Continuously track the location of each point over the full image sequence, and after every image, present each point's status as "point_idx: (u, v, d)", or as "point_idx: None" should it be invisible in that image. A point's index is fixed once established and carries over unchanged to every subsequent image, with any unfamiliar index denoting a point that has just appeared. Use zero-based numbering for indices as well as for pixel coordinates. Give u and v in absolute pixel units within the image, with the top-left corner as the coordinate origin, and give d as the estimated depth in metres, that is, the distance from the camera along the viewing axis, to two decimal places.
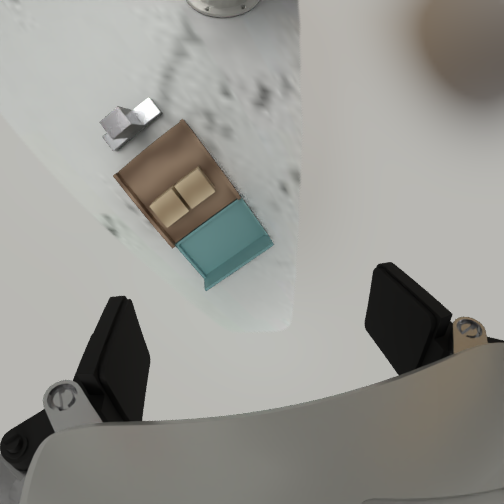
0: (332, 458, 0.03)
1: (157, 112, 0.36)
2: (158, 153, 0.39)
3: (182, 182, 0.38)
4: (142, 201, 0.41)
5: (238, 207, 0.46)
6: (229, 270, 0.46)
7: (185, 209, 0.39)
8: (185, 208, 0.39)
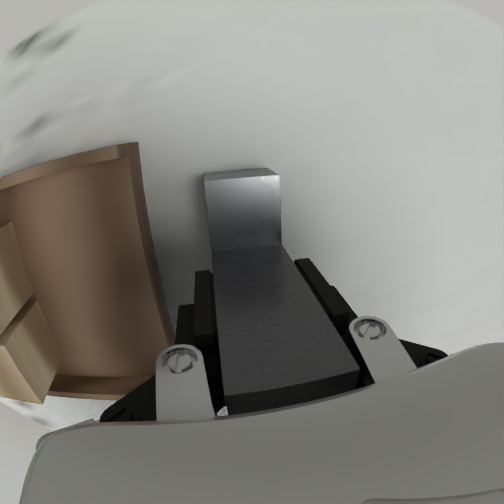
0: (332, 458, 0.03)
1: None
2: (119, 300, 0.13)
3: (13, 365, 0.09)
4: (18, 186, 0.10)
5: None
6: None
7: None
8: None
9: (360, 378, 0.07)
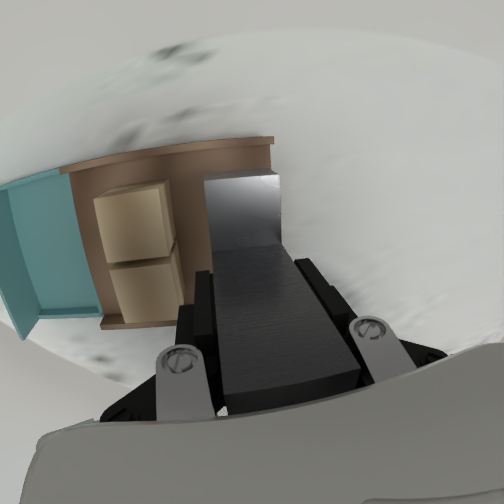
0: (332, 458, 0.03)
1: None
2: None
3: (169, 282, 0.17)
4: (180, 153, 0.18)
5: (90, 298, 0.23)
6: None
7: (113, 258, 0.16)
8: (115, 259, 0.16)
9: (360, 378, 0.07)
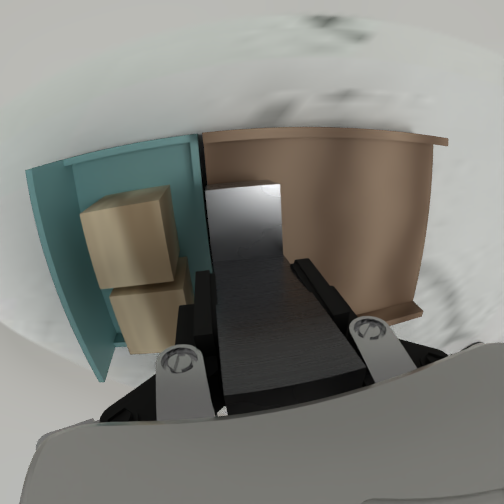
0: (332, 458, 0.03)
1: None
2: (406, 239, 0.18)
3: None
4: (358, 140, 0.15)
5: None
6: (59, 262, 0.12)
7: None
8: None
9: None
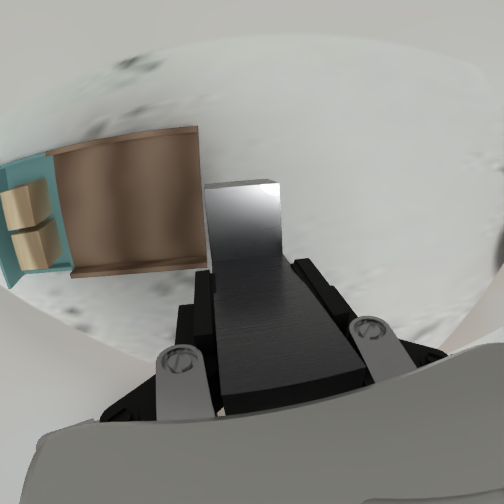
0: (332, 458, 0.03)
1: None
2: (182, 204, 0.26)
3: None
4: (131, 140, 0.23)
5: (65, 256, 0.27)
6: None
7: None
8: None
9: None
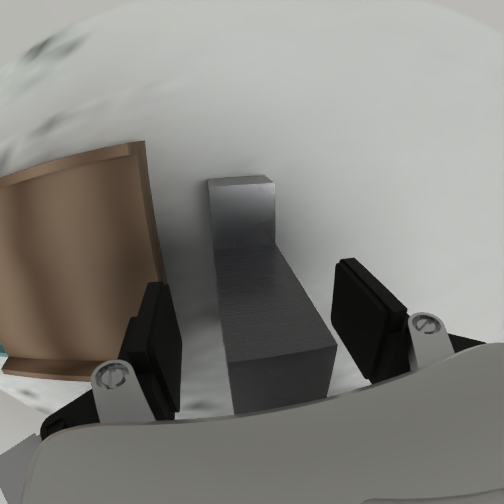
0: (332, 458, 0.03)
1: None
2: (126, 285, 0.14)
3: None
4: (33, 179, 0.11)
5: None
6: None
7: None
8: None
9: (409, 371, 0.07)
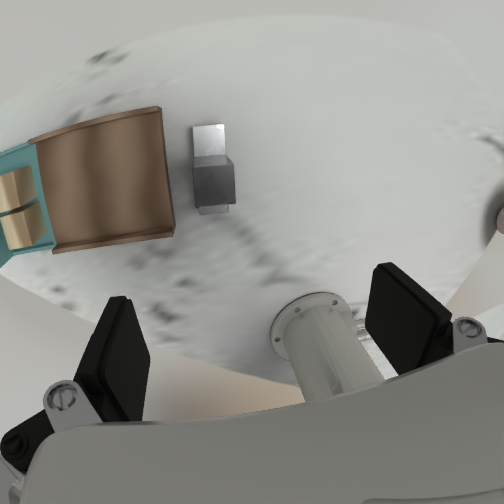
0: (332, 458, 0.03)
1: (201, 212, 0.29)
2: (148, 179, 0.27)
3: None
4: (101, 124, 0.24)
5: (49, 236, 0.29)
6: None
7: None
8: None
9: None
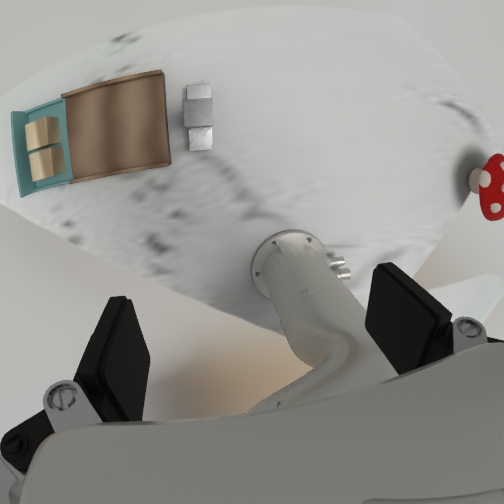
0: (332, 458, 0.03)
1: (191, 148, 0.35)
2: (152, 124, 0.34)
3: None
4: (119, 84, 0.30)
5: (67, 174, 0.35)
6: (16, 143, 0.28)
7: (39, 147, 0.32)
8: (39, 148, 0.32)
9: None
